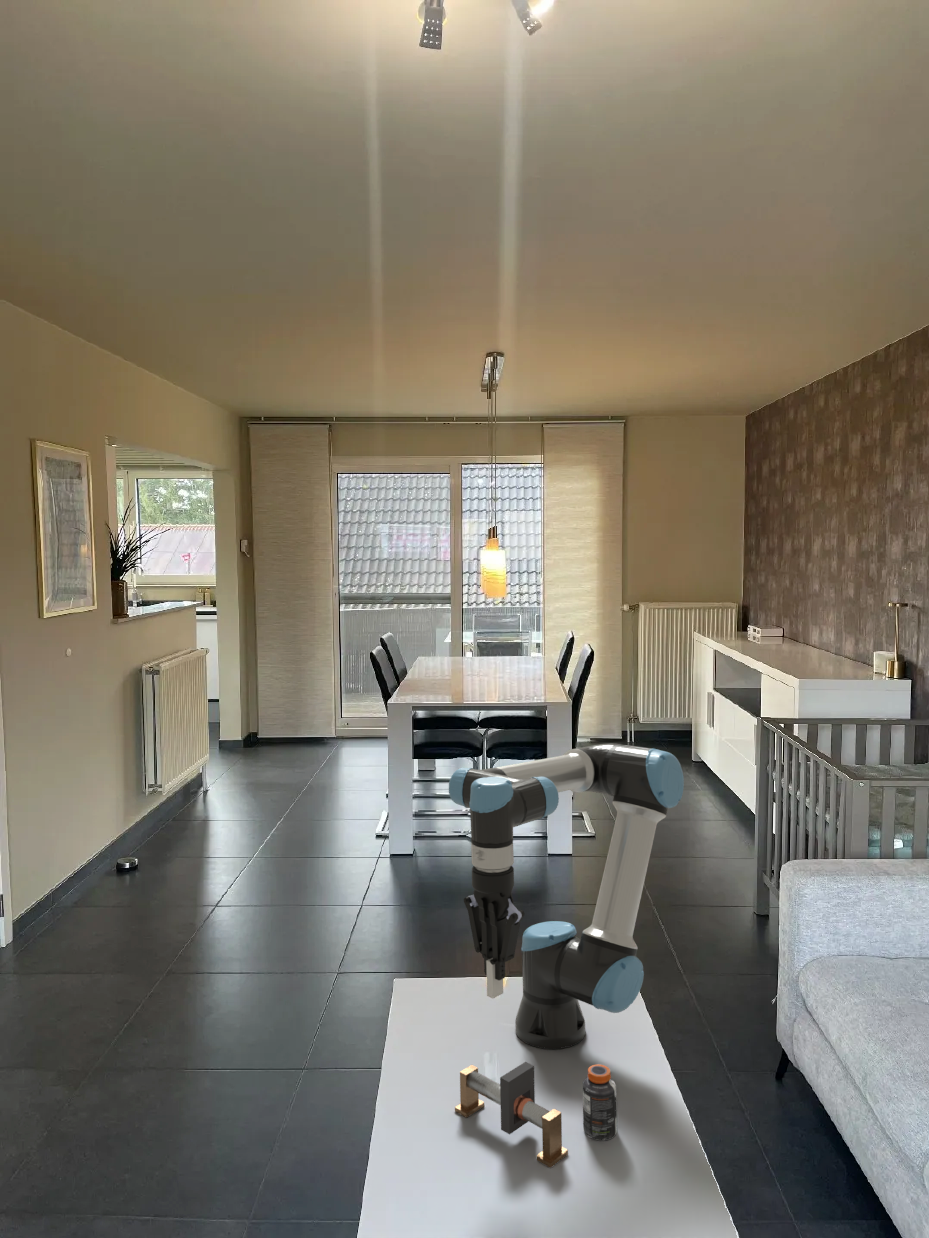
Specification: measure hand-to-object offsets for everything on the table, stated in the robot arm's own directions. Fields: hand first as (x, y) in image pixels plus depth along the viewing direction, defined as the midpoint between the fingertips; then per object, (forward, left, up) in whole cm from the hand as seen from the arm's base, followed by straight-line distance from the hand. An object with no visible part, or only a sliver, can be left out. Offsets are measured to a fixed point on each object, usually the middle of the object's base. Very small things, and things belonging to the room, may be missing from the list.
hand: (495, 994), depth 158 cm
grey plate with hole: (-2, +5, -22) cm, 22 cm away
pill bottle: (-16, +8, -24) cm, 31 cm away
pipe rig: (-1, +3, -24) cm, 24 cm away
